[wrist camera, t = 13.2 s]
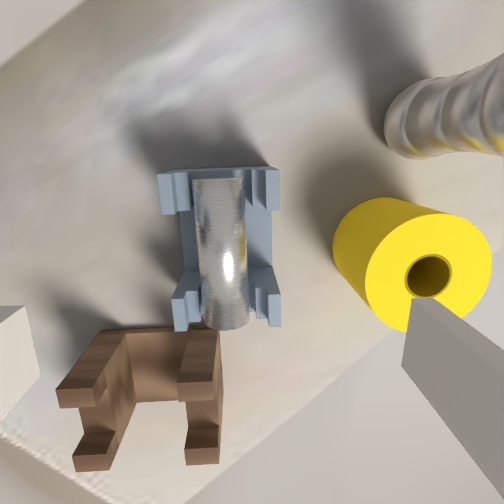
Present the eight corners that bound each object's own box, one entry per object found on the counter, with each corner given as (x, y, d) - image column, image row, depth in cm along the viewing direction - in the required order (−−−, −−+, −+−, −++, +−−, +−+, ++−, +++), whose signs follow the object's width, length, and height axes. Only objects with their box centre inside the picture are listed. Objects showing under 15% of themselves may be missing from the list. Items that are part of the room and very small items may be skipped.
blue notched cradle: (188, 293, 35) (174, 331, 28) (176, 169, 32) (156, 174, 24) (271, 289, 36) (280, 326, 28) (269, 165, 32) (279, 169, 24)
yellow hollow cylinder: (313, 236, 34) (340, 266, 25) (396, 177, 33) (456, 186, 24) (363, 305, 37) (404, 354, 28) (442, 252, 35) (512, 287, 26)
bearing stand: (223, 391, 39) (218, 463, 30) (113, 397, 39) (75, 472, 30) (218, 324, 37) (212, 381, 28) (101, 330, 36) (55, 389, 27)
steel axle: (196, 177, 27) (187, 181, 23) (244, 176, 27) (243, 179, 23) (206, 308, 31) (200, 331, 27) (249, 307, 31) (249, 329, 27)
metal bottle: (362, 136, 31) (553, 110, 12) (406, 69, 30) (703, -80, 11) (413, 172, 33) (661, 199, 14) (458, 109, 31) (810, 39, 12)
